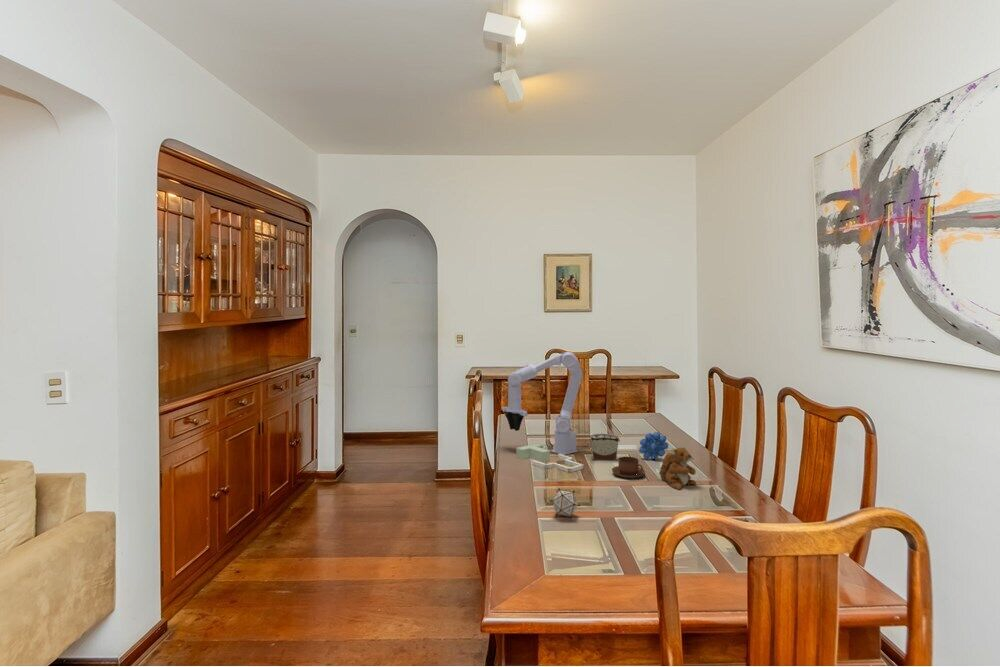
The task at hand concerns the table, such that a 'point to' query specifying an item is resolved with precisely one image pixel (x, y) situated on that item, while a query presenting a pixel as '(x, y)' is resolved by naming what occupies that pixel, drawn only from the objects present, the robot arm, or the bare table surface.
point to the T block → (533, 452)
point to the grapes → (653, 445)
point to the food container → (604, 447)
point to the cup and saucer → (628, 468)
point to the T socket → (566, 461)
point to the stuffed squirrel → (677, 468)
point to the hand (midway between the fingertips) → (514, 429)
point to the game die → (565, 503)
